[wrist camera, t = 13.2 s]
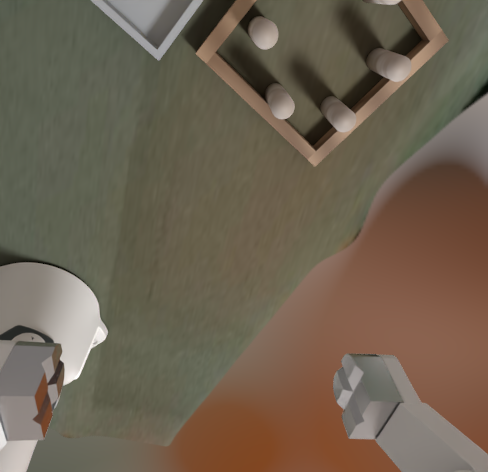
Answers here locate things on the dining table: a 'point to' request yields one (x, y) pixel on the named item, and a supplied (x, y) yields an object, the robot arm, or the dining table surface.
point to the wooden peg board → (331, 107)
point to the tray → (150, 20)
